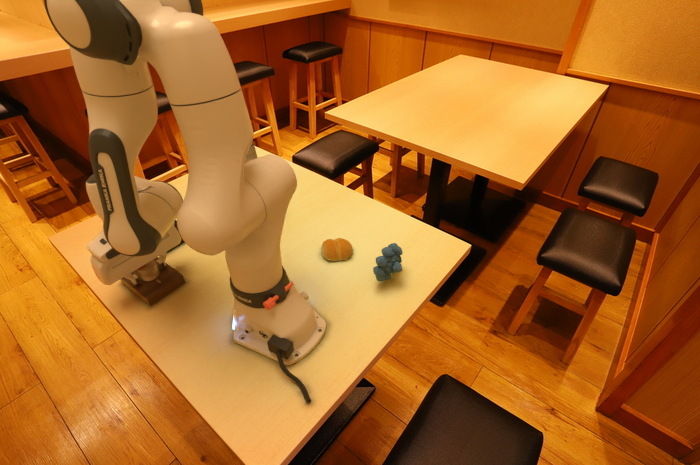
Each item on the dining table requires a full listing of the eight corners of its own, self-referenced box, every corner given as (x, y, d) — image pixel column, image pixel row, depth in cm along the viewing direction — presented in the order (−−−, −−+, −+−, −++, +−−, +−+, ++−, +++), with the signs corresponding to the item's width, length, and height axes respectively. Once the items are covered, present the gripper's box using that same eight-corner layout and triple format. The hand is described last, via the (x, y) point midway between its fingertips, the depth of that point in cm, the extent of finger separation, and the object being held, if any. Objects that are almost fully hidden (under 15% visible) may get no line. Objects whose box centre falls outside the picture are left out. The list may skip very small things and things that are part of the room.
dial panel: (185, 282, 98) (182, 274, 96) (150, 306, 92) (146, 298, 90) (157, 262, 104) (153, 253, 102) (122, 283, 98) (117, 275, 96)
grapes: (387, 299, 95) (391, 265, 87) (366, 286, 98) (368, 253, 91) (411, 273, 102) (417, 240, 94) (390, 262, 105) (394, 229, 98)
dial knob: (153, 266, 98) (148, 256, 96) (163, 274, 96) (158, 263, 94) (137, 276, 96) (132, 265, 93) (147, 283, 94) (141, 273, 91)
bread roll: (354, 260, 106) (354, 250, 103) (323, 263, 105) (322, 253, 102) (349, 241, 112) (350, 231, 109) (320, 244, 111) (319, 234, 108)
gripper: (163, 206, 95) (178, 247, 104) (78, 249, 82) (104, 291, 91) (177, 215, 92) (192, 256, 101) (93, 261, 79) (117, 304, 88)
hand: (149, 273), depth 96 cm, fingers open, 6 cm apart
